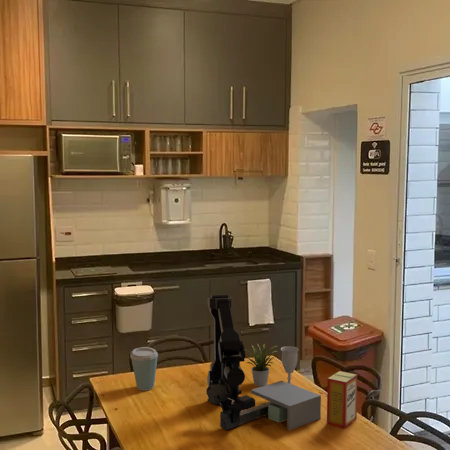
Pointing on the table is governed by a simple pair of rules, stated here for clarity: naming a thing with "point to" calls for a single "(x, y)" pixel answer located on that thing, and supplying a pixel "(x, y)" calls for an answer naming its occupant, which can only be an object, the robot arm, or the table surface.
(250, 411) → the dark grey hook tool
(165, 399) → the table surface
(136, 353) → the disposable coffee cup
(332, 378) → the baking soda box
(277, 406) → the block
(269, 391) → the cubby
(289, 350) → the chalice
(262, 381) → the house plant
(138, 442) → the table surface
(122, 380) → the table surface
